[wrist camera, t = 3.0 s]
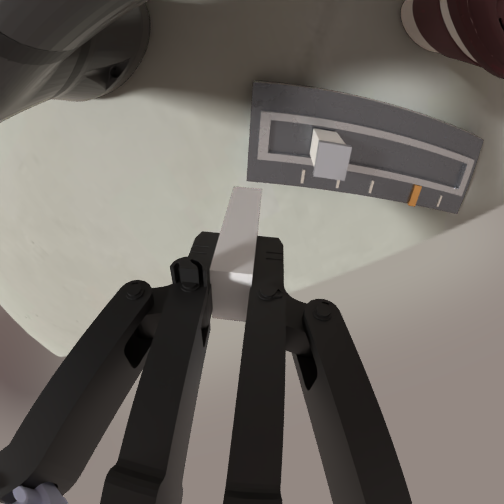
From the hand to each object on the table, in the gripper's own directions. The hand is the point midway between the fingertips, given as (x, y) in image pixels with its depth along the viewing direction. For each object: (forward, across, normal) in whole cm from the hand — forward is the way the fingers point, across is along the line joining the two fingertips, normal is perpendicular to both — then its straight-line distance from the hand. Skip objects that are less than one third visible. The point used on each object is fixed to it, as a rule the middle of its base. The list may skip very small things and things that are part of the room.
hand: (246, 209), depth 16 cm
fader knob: (+15, +6, 0) cm, 16 cm away
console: (+17, +13, 0) cm, 21 cm away
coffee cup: (+17, +17, +17) cm, 30 cm away
